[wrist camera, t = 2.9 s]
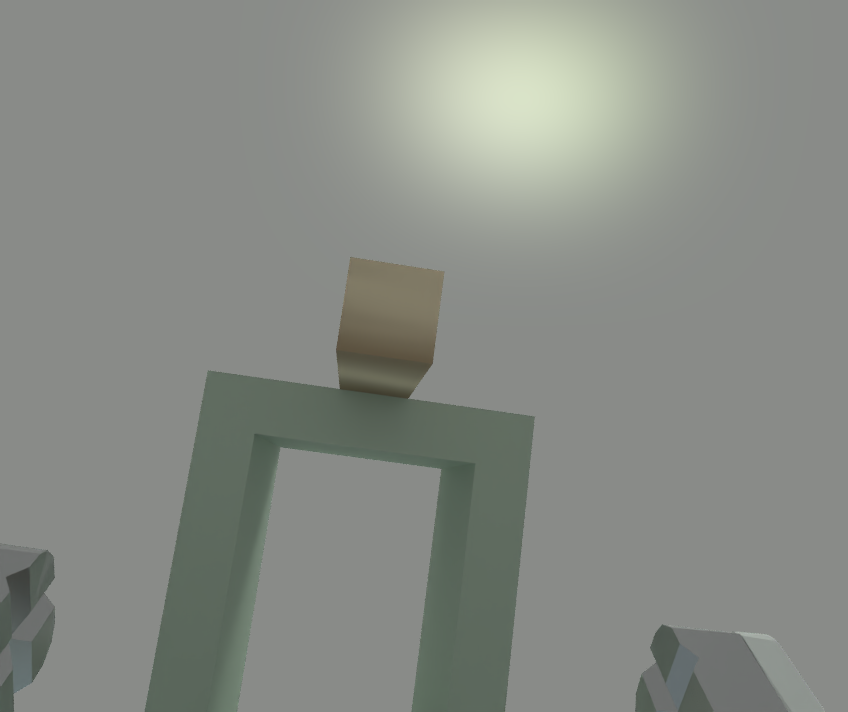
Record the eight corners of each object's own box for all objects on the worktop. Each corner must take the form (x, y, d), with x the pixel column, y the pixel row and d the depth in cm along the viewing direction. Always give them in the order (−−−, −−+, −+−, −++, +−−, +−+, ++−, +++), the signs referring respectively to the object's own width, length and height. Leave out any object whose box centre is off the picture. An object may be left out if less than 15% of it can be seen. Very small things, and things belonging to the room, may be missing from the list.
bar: (432, 363, 19) (444, 271, 19) (336, 350, 19) (350, 257, 19) (391, 422, 38) (397, 375, 38) (342, 416, 37) (349, 368, 38)
